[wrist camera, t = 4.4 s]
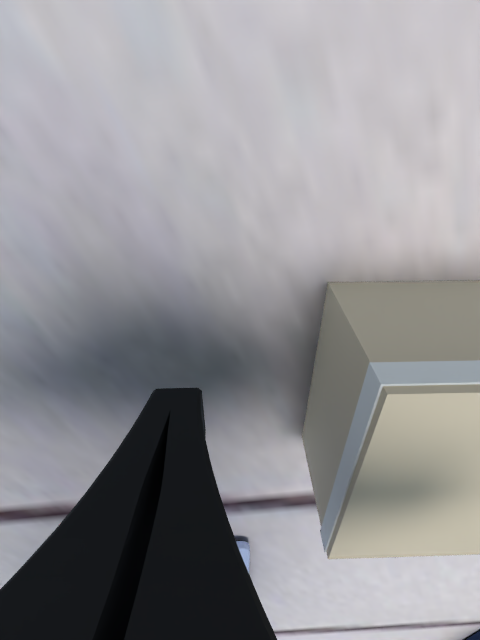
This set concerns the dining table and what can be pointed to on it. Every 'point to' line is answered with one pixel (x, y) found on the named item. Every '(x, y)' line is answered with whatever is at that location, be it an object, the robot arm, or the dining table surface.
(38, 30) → the dining table surface
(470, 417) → the beige rectangular block
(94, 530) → the robot arm
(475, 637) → the protein box
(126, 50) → the dining table surface
